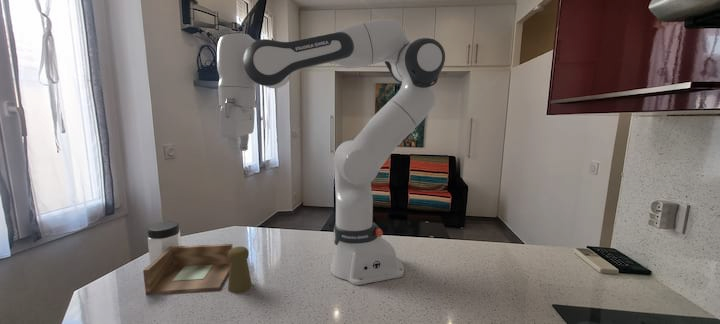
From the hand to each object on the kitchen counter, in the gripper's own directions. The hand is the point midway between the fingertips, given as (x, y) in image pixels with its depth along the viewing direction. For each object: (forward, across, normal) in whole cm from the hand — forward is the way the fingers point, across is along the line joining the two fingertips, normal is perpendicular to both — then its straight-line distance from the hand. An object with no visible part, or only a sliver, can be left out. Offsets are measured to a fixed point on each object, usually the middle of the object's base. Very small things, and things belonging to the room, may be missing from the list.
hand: (239, 152), depth 80 cm
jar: (+37, +13, +27) cm, 47 cm away
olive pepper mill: (+37, -4, 0) cm, 37 cm away
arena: (+36, +2, +15) cm, 39 cm away
